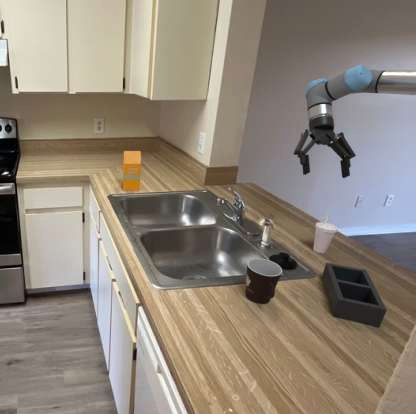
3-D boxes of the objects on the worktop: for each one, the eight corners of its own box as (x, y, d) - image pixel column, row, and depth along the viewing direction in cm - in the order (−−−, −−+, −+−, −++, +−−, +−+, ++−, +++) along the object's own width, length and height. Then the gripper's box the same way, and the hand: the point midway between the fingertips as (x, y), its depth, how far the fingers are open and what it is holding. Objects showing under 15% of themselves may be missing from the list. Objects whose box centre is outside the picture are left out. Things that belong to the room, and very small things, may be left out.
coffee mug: (243, 283, 99) (249, 255, 95) (275, 293, 95) (283, 263, 91) (236, 306, 90) (243, 275, 86) (271, 317, 86) (280, 286, 82)
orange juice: (122, 185, 181) (123, 149, 173) (138, 185, 181) (140, 149, 173) (123, 190, 174) (124, 152, 166) (139, 190, 173) (141, 152, 165)
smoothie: (312, 244, 121) (323, 209, 115) (333, 251, 116) (344, 214, 111) (305, 249, 117) (316, 214, 112) (326, 257, 113) (338, 220, 107)
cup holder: (360, 285, 98) (366, 270, 96) (379, 327, 83) (386, 309, 80) (321, 277, 102) (326, 262, 100) (332, 316, 86) (338, 299, 84)
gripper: (347, 128, 123) (354, 181, 118) (280, 122, 124) (284, 175, 118) (363, 117, 116) (371, 174, 111) (292, 112, 116) (296, 167, 111)
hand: (326, 175), depth 114 cm, fingers open, 13 cm apart
